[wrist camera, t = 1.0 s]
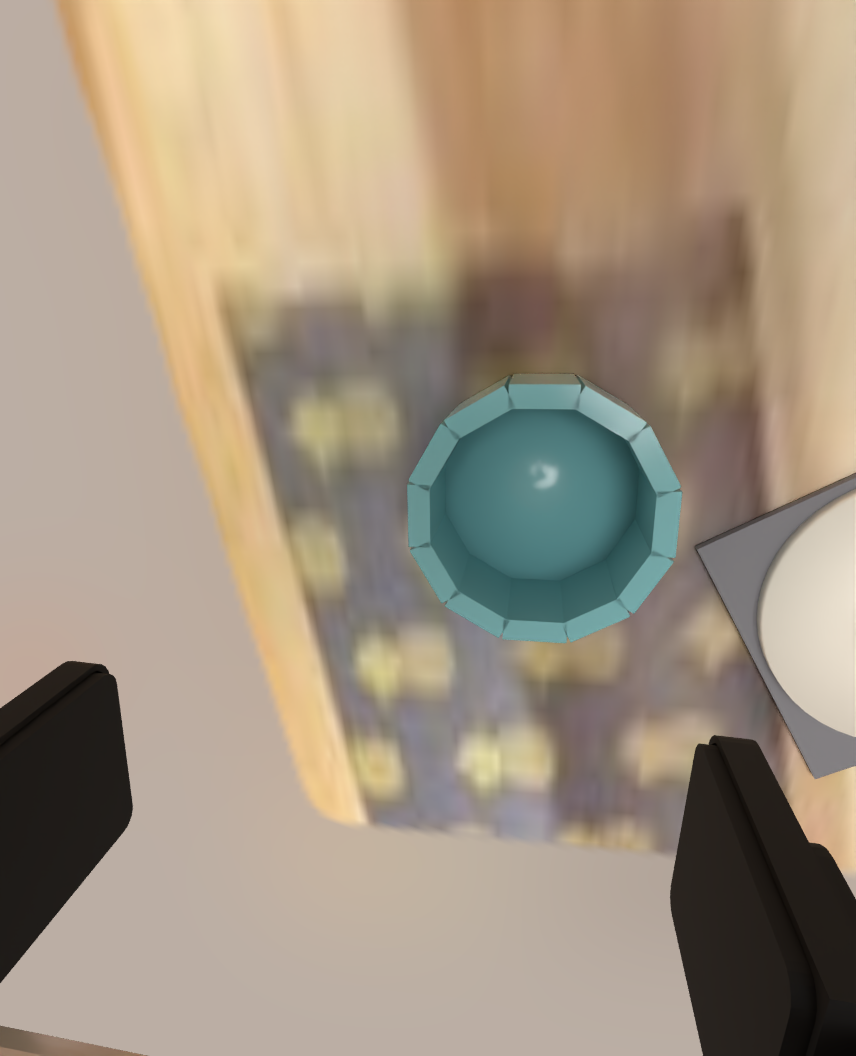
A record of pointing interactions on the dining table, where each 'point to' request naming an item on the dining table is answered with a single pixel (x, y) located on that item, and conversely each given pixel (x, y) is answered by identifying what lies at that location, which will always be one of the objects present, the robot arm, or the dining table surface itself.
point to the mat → (738, 579)
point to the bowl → (543, 509)
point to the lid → (815, 615)
